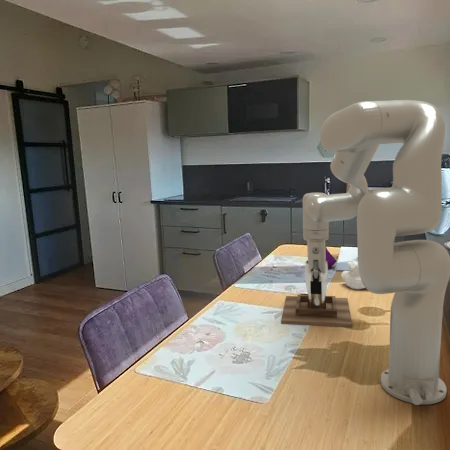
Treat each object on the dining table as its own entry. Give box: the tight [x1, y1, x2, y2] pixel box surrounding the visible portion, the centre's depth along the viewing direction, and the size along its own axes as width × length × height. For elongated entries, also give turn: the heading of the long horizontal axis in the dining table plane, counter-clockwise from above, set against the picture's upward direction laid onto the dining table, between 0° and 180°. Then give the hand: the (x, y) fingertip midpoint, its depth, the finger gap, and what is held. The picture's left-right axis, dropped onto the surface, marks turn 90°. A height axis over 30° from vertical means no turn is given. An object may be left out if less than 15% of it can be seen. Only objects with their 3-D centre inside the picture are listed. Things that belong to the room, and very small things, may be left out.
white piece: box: [304, 259, 329, 309], centre depth 125 cm, size 7×7×15 cm
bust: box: [340, 260, 366, 290], centre depth 144 cm, size 12×8×11 cm
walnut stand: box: [280, 294, 353, 328], centre depth 126 cm, size 20×20×3 cm
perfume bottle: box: [325, 244, 337, 270], centre depth 169 cm, size 8×8×18 cm
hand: (316, 288), depth 125 cm, fingers open, 9 cm apart
